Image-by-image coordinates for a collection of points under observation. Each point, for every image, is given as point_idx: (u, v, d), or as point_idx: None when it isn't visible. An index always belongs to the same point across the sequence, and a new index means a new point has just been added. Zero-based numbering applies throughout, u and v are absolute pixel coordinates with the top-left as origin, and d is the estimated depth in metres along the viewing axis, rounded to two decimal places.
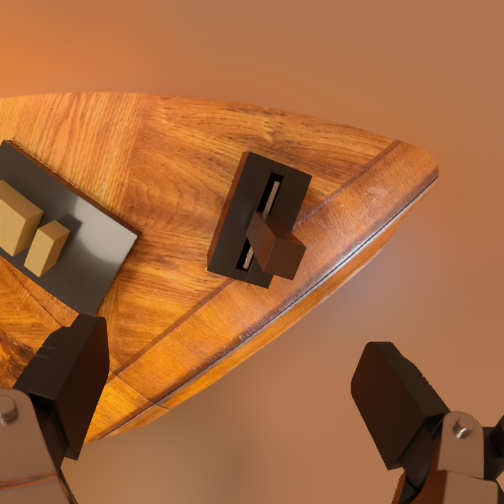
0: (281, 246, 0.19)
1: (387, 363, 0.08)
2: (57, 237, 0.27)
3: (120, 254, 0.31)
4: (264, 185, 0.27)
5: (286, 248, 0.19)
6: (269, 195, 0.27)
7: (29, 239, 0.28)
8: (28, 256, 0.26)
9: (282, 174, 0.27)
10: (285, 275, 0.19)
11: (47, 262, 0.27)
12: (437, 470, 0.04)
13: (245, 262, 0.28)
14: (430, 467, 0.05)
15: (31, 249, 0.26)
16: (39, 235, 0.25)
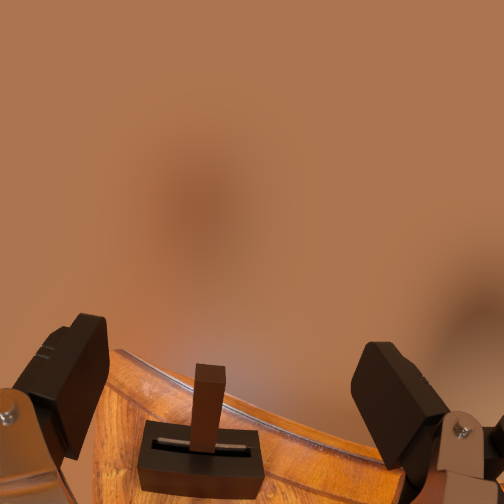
0: (201, 376, 0.21)
1: (387, 363, 0.08)
2: None
3: None
4: (164, 452, 0.24)
5: (201, 373, 0.22)
6: (172, 443, 0.24)
7: None
8: None
9: (151, 440, 0.25)
10: (223, 370, 0.23)
11: None
12: (437, 469, 0.04)
13: (240, 447, 0.25)
14: (430, 467, 0.05)
15: None
16: None
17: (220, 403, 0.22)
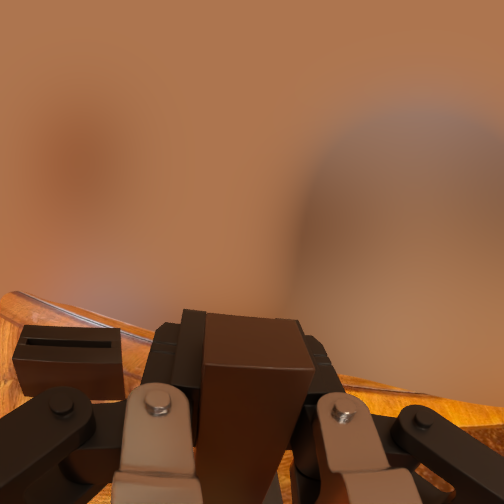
0: (226, 349, 0.06)
1: None
2: None
3: None
4: (36, 346, 0.25)
5: (226, 340, 0.07)
6: None
7: None
8: None
9: (26, 338, 0.25)
10: (293, 331, 0.07)
11: None
12: (329, 471, 0.04)
13: None
14: (320, 465, 0.05)
15: None
16: None
17: (285, 436, 0.07)
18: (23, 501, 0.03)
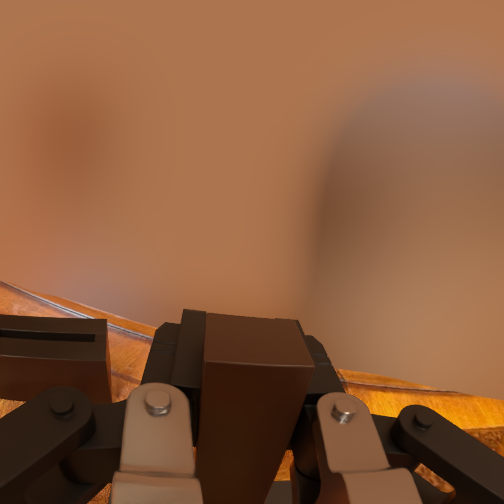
0: (226, 347, 0.06)
1: None
2: None
3: None
4: (6, 338, 0.19)
5: (226, 338, 0.07)
6: None
7: None
8: None
9: None
10: (293, 331, 0.07)
11: None
12: (329, 471, 0.04)
13: None
14: (319, 465, 0.05)
15: None
16: None
17: (285, 436, 0.07)
18: (23, 501, 0.03)
